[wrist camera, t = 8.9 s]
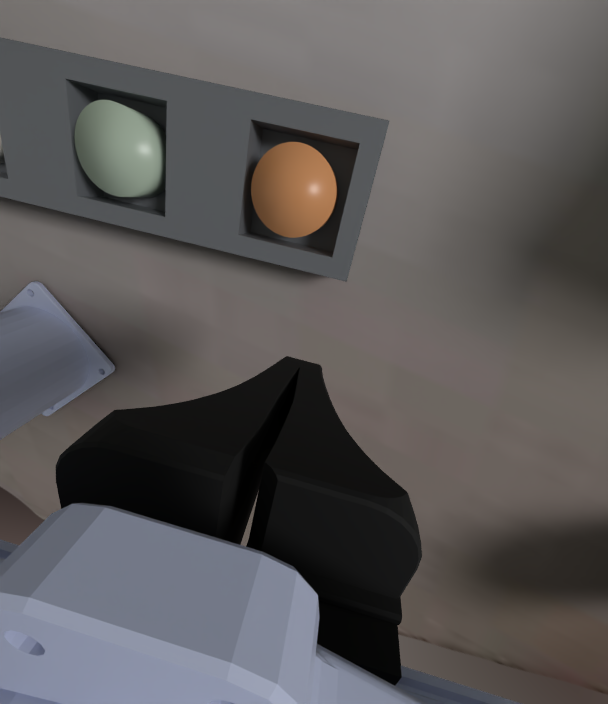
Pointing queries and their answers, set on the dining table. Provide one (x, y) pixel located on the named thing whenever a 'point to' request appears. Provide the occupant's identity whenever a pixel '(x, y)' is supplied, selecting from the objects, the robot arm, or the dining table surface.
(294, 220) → the orange button
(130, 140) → the sage button
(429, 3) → the dining table surface
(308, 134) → the button panel
